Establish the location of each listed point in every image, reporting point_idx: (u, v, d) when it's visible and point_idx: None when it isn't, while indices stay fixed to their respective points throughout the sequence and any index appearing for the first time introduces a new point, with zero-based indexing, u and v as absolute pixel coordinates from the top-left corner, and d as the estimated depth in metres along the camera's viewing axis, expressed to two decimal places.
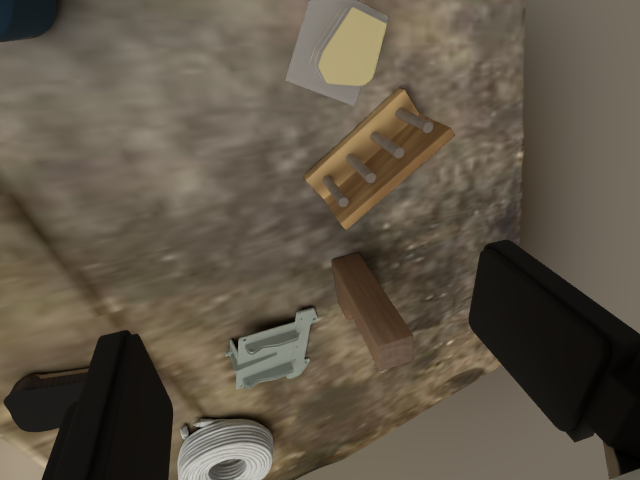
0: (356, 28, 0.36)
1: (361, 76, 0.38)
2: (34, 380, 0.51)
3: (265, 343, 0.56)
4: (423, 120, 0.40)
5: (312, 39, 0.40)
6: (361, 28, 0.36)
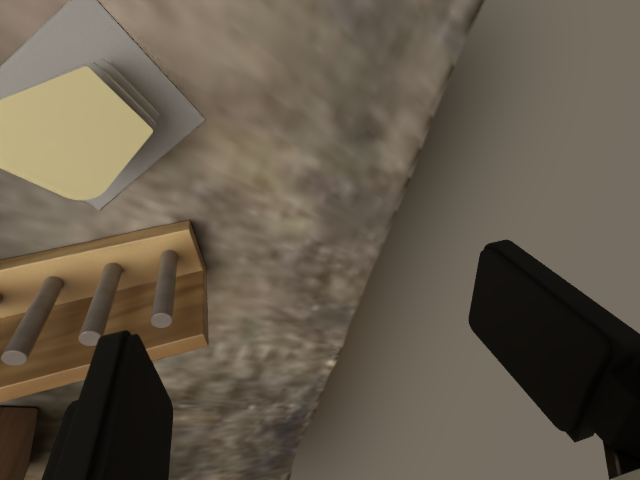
0: (85, 104, 0.18)
1: (74, 184, 0.20)
2: None
3: None
4: (162, 303, 0.23)
5: (45, 74, 0.21)
6: (97, 110, 0.18)
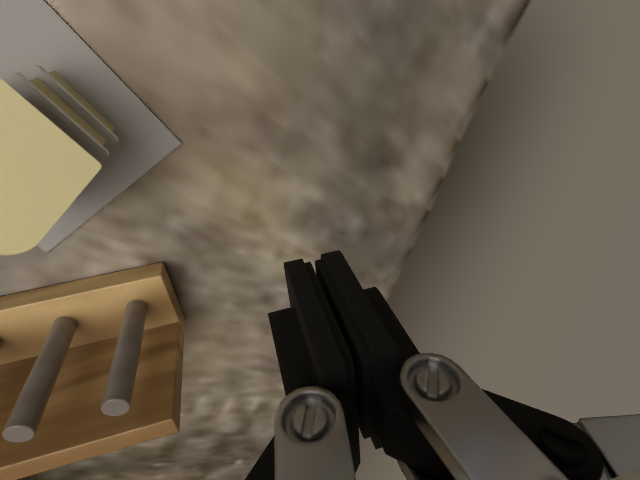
0: (2, 131, 0.13)
1: None
2: None
3: None
4: (118, 383, 0.17)
5: None
6: (19, 139, 0.13)
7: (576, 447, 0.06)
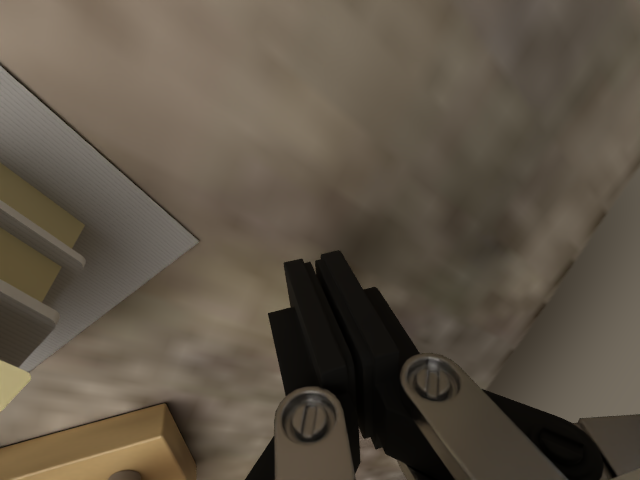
0: None
1: None
2: None
3: None
4: None
5: None
6: None
7: (576, 447, 0.06)
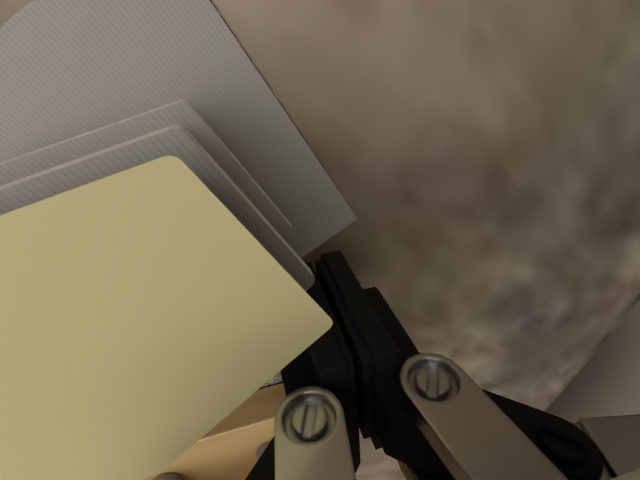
0: (150, 276, 0.05)
1: (89, 465, 0.07)
2: None
3: None
4: None
5: (26, 129, 0.09)
6: (185, 288, 0.05)
7: (575, 447, 0.06)
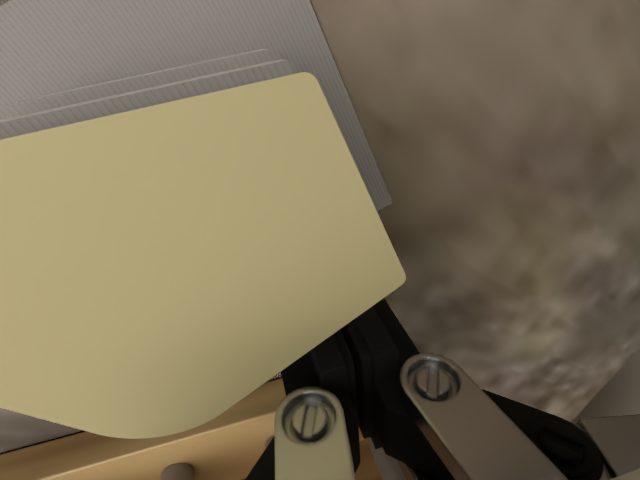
0: (255, 201, 0.05)
1: (140, 407, 0.06)
2: None
3: None
4: None
5: (88, 66, 0.08)
6: (283, 220, 0.05)
7: (576, 447, 0.06)
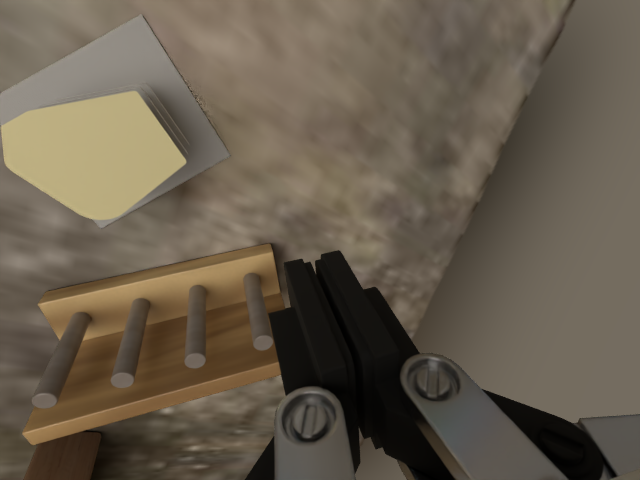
0: (125, 127, 0.18)
1: (92, 203, 0.19)
2: None
3: None
4: (263, 326, 0.23)
5: (80, 88, 0.21)
6: (135, 134, 0.18)
7: (576, 447, 0.06)
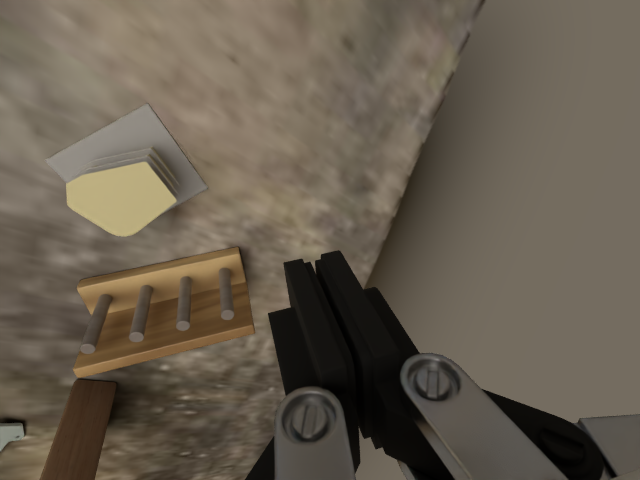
0: (139, 182, 0.29)
1: (118, 226, 0.30)
2: None
3: None
4: (228, 304, 0.34)
5: (108, 148, 0.32)
6: (145, 185, 0.29)
7: (576, 447, 0.06)
